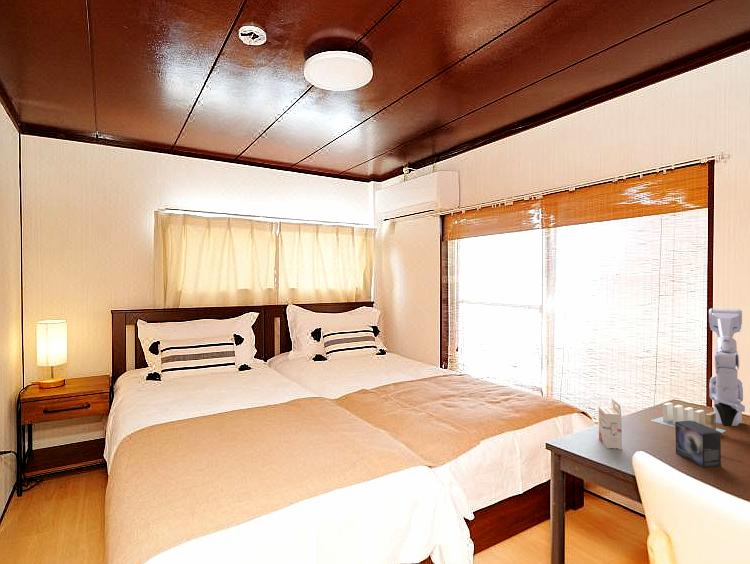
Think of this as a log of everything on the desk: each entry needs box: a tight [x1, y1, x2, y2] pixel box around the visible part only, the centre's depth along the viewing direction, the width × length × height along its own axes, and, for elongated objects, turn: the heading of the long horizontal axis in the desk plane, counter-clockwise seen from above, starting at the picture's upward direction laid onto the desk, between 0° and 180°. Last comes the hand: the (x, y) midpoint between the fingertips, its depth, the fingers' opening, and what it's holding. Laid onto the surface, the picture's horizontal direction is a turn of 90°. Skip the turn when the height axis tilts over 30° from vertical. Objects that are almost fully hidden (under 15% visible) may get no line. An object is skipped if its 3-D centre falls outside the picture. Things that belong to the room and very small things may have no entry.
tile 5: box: [662, 402, 674, 422], centre depth 162 cm, size 4×2×6 cm, turn 120°
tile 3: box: [683, 406, 695, 421], centre depth 156 cm, size 4×2×6 cm, turn 120°
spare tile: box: [705, 411, 717, 430], centre depth 150 cm, size 4×2×6 cm, turn 120°
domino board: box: [649, 415, 727, 434], centre depth 157 cm, size 12×20×1 cm, turn 30°
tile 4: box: [673, 404, 684, 424], centre depth 159 cm, size 4×2×6 cm, turn 120°
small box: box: [674, 421, 722, 468], centre depth 130 cm, size 11×6×10 cm, turn 5°
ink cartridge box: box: [598, 398, 623, 450], centre depth 143 cm, size 9×5×15 cm, turn 168°
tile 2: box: [694, 409, 706, 426], centre depth 153 cm, size 4×2×6 cm, turn 120°
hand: (726, 425), depth 146 cm, fingers closed
